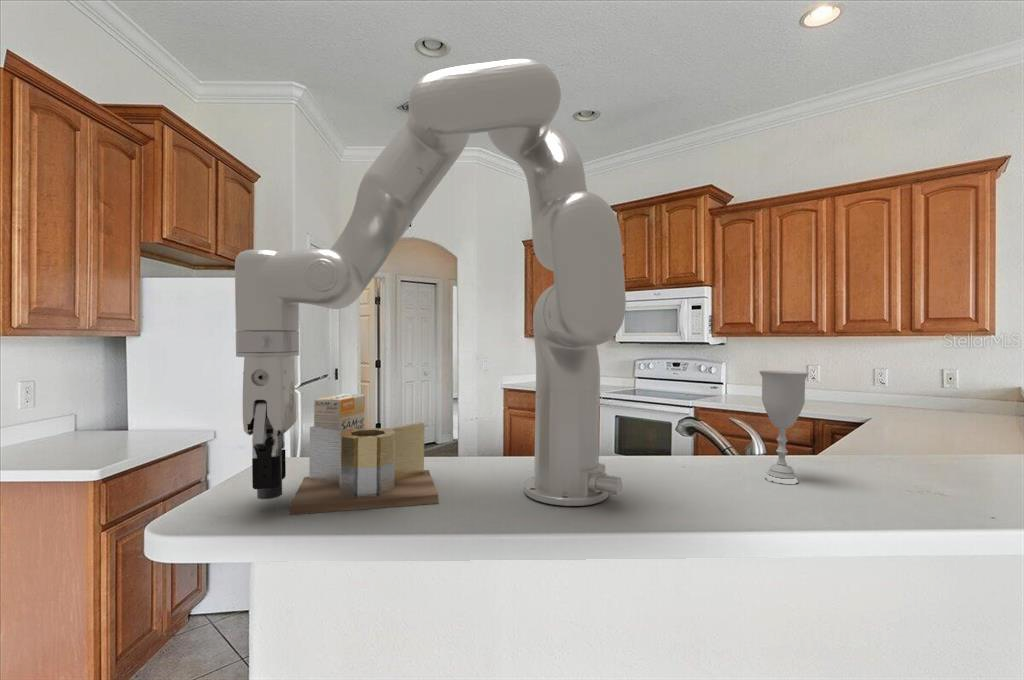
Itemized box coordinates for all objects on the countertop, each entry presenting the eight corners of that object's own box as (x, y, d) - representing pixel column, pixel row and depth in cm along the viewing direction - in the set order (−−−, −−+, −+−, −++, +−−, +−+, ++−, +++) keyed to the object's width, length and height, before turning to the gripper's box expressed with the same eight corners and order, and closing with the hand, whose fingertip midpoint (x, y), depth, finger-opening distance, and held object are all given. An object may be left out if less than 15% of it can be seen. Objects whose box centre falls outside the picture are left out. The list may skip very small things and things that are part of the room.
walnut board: (437, 503, 69) (438, 494, 69) (289, 514, 64) (289, 505, 64) (428, 477, 81) (428, 469, 81) (304, 484, 76) (304, 477, 76)
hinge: (430, 492, 70) (431, 435, 70) (299, 501, 65) (299, 441, 65) (423, 471, 80) (423, 422, 80) (310, 478, 76) (310, 425, 76)
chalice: (807, 479, 83) (809, 372, 83) (806, 489, 77) (808, 374, 77) (759, 472, 87) (761, 369, 87) (754, 481, 81) (756, 372, 81)
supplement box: (339, 483, 78) (340, 399, 77) (312, 480, 78) (312, 398, 78) (365, 469, 86) (366, 393, 86) (340, 467, 87) (340, 392, 86)
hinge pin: (292, 494, 66) (291, 416, 66) (261, 502, 63) (260, 420, 63) (277, 488, 68) (276, 413, 68) (247, 496, 65) (246, 417, 65)
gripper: (288, 346, 58) (289, 501, 59) (307, 343, 74) (308, 465, 74) (217, 347, 56) (219, 507, 57) (252, 344, 72) (253, 469, 72)
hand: (269, 482), depth 66 cm, fingers closed on hinge pin, 3 cm apart
